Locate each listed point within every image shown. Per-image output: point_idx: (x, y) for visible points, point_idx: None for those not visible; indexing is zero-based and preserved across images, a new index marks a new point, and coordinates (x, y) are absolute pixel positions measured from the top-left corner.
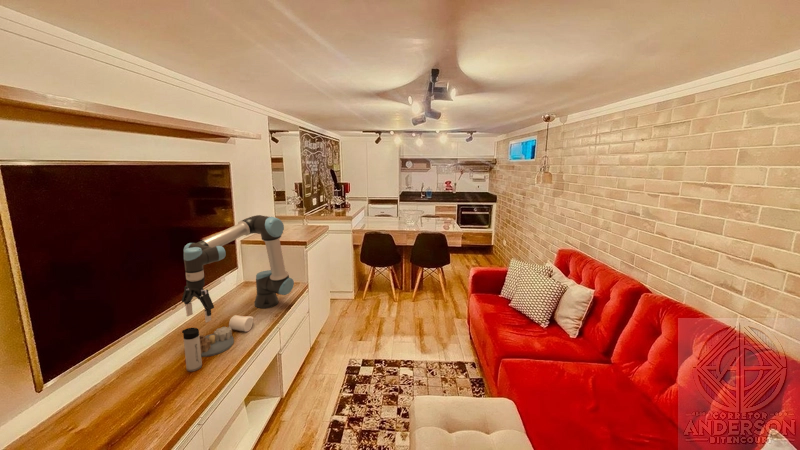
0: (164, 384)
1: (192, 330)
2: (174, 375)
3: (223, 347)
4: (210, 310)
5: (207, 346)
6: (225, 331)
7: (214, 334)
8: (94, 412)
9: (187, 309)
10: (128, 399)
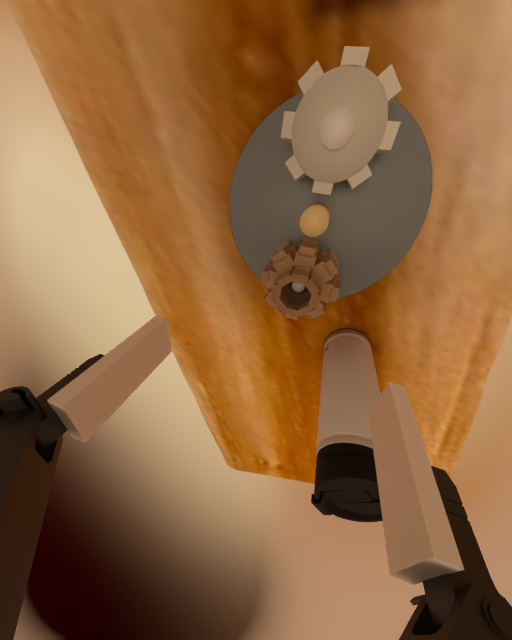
0: (317, 400)
1: (357, 490)
2: (314, 375)
3: (401, 235)
4: (481, 569)
5: (339, 284)
6: (365, 135)
7: (299, 178)
8: (261, 445)
9: (129, 392)
10: (284, 429)
